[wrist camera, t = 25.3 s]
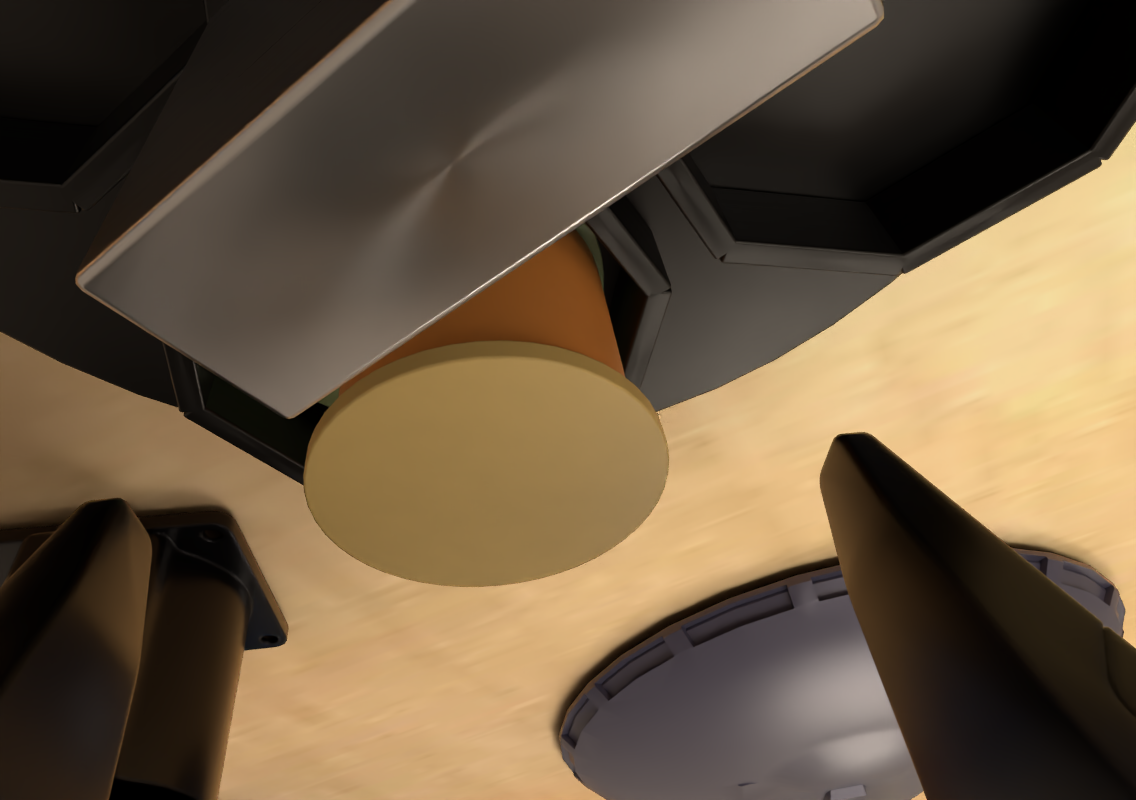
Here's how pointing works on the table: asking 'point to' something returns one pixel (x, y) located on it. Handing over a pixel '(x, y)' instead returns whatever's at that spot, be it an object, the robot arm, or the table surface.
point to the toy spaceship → (764, 700)
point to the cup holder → (508, 174)
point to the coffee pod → (493, 438)
